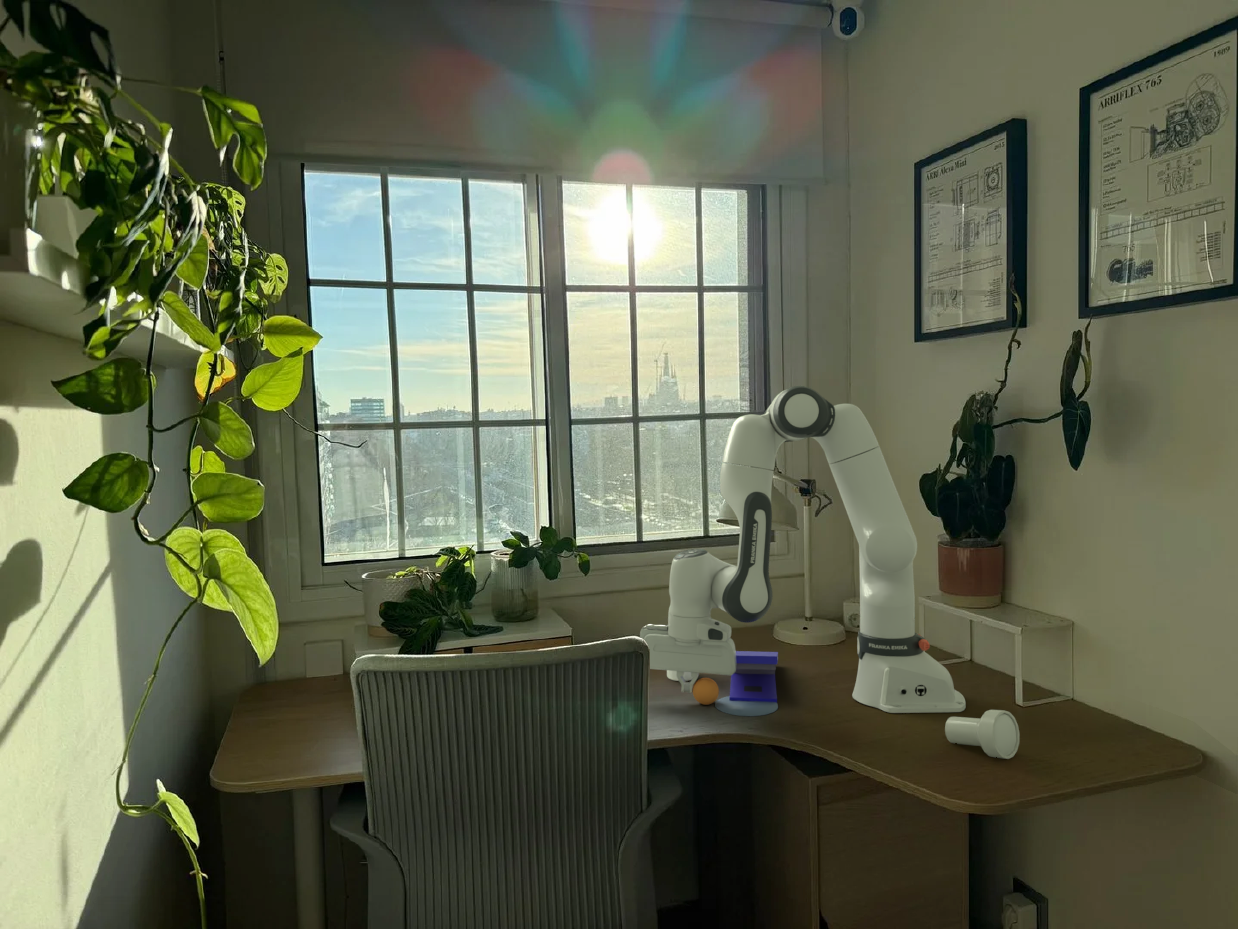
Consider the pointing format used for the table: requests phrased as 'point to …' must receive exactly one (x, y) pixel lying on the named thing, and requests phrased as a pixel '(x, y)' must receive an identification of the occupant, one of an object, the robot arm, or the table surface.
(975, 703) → the table surface
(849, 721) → the table surface
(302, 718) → the table surface
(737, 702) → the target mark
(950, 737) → the spotlight
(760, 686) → the stapler
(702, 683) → the ball
